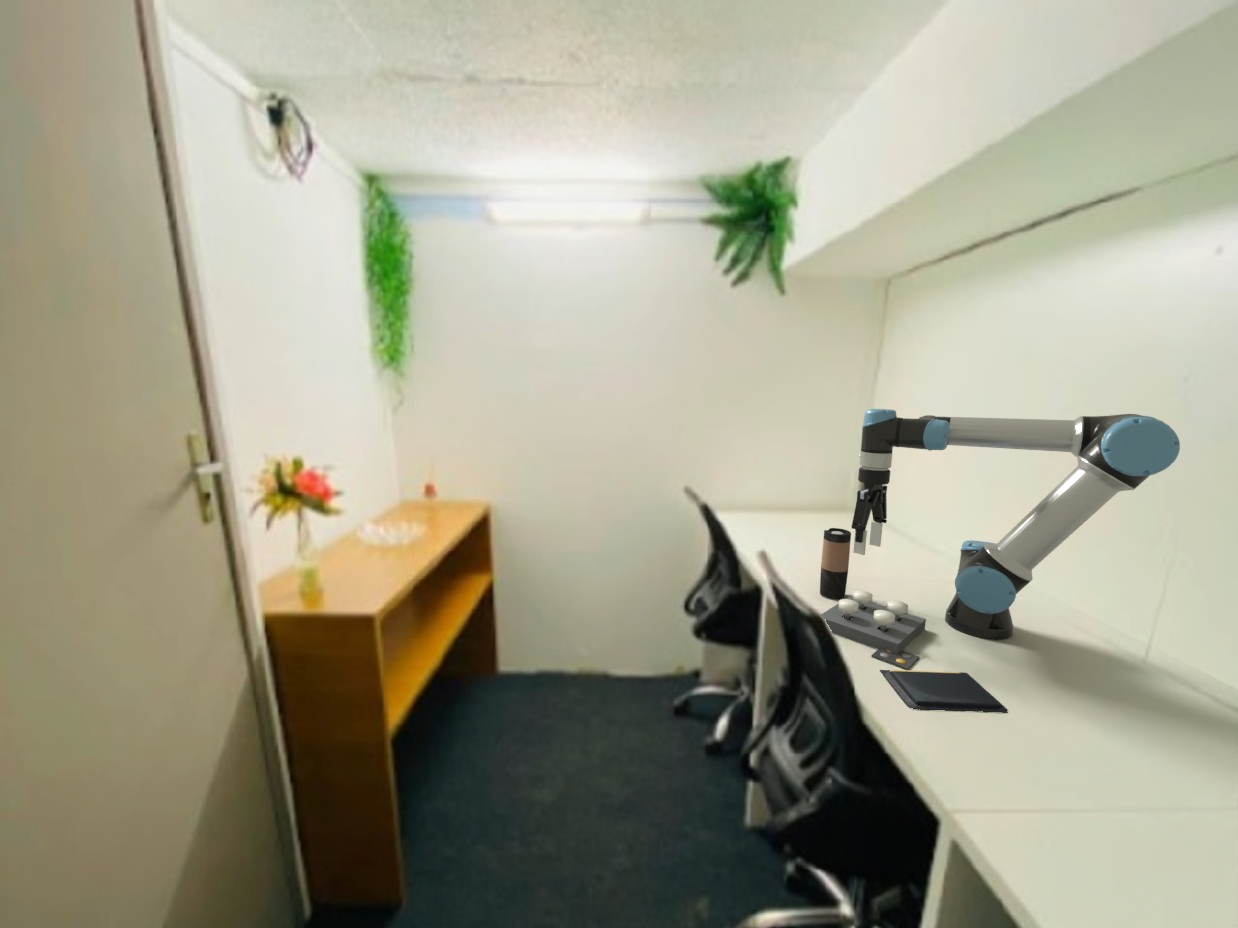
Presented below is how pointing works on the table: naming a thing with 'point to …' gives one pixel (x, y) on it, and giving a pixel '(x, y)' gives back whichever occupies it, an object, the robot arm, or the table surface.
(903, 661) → the card
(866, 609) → the button board
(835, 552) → the travel mug
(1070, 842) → the table surface
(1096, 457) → the robot arm
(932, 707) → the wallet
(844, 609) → the button
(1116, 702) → the table surface
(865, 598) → the button
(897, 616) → the button
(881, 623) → the button
